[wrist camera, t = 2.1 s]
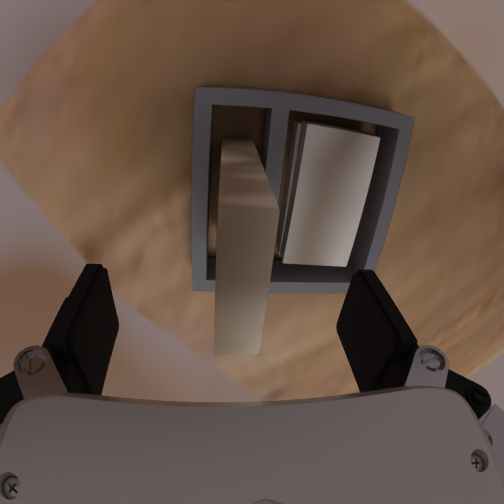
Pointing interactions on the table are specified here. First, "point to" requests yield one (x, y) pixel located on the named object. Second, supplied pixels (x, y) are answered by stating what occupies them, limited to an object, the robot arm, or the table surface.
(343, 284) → the rack
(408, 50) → the table surface
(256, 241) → the birch sheet
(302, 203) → the offcut upper
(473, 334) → the table surface
